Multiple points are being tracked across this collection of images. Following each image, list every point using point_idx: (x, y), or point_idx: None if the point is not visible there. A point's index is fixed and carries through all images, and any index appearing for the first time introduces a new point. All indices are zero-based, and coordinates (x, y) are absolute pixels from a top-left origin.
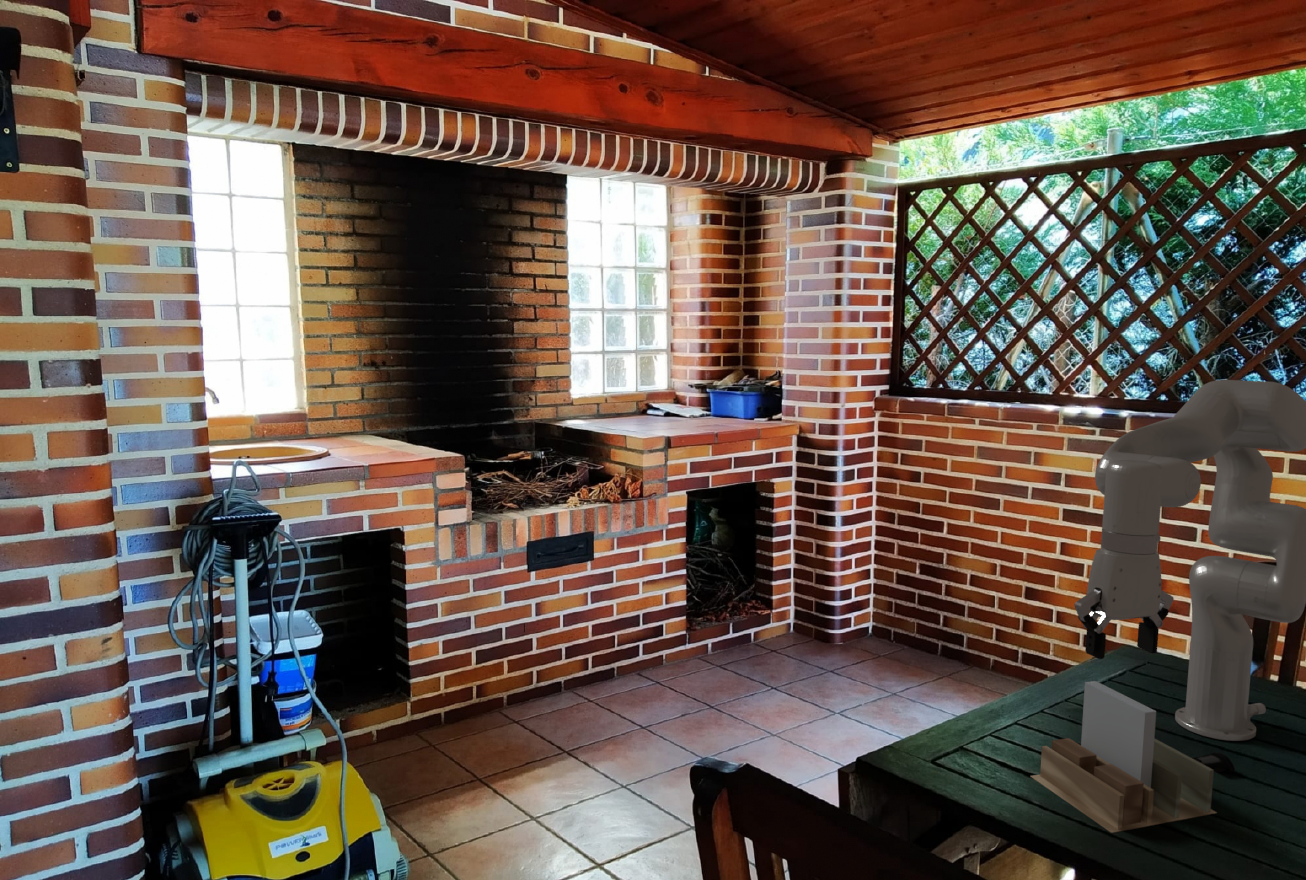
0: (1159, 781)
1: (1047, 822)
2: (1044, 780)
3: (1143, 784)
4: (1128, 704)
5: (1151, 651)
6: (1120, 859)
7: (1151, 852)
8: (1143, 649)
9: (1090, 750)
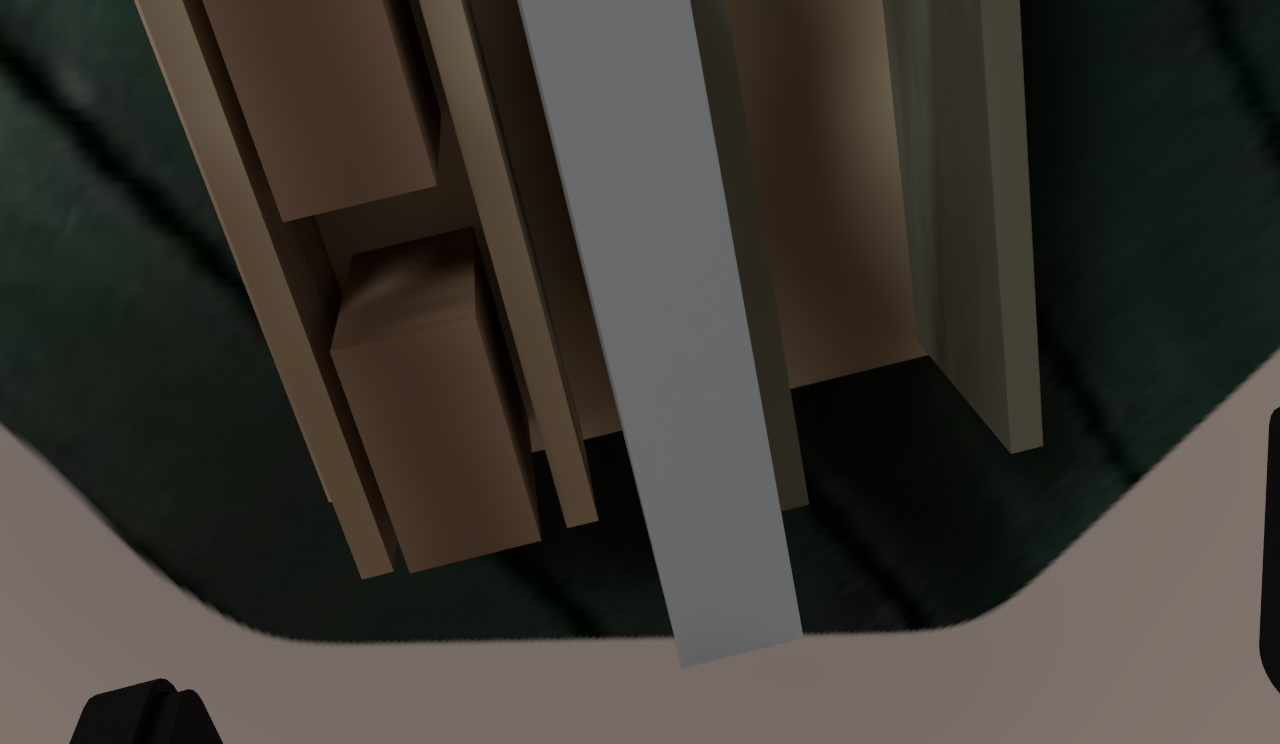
0: None
1: (73, 302)
2: None
3: (540, 534)
4: (643, 507)
5: (1273, 672)
6: (314, 585)
7: None
8: (1268, 518)
9: None
